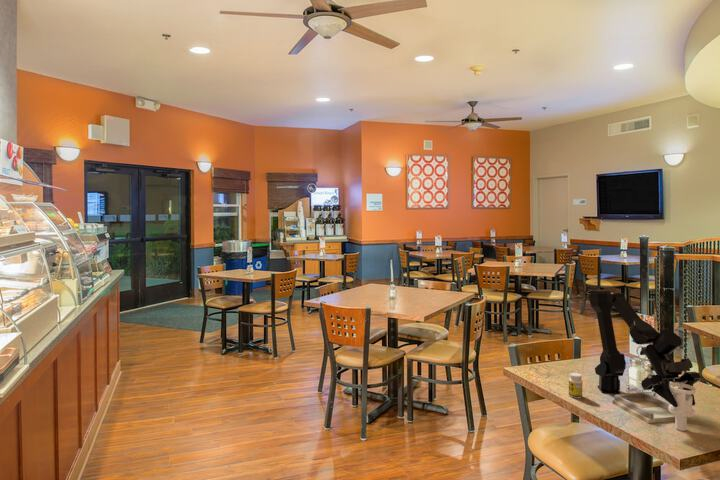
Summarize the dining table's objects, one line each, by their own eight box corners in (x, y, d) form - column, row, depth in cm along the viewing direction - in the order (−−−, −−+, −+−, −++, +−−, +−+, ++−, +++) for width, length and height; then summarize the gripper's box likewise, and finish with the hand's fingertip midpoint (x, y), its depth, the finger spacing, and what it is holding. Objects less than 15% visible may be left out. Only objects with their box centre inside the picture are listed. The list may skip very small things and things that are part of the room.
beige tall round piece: (666, 421, 163) (668, 378, 162) (692, 426, 160) (694, 381, 159) (668, 430, 157) (670, 385, 156) (695, 435, 154) (697, 388, 153)
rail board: (612, 403, 180) (612, 395, 179) (645, 399, 182) (645, 392, 182) (648, 423, 163) (648, 414, 163) (684, 419, 166) (684, 410, 165)
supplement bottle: (566, 393, 189) (566, 372, 188) (577, 393, 189) (578, 372, 189) (572, 398, 184) (573, 376, 183) (584, 398, 184) (585, 376, 184)
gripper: (649, 351, 159) (675, 398, 149) (698, 347, 162) (727, 393, 152) (630, 367, 167) (654, 412, 157) (677, 363, 171) (703, 407, 161)
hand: (685, 405), depth 157 cm, fingers closed on beige tall round piece, 6 cm apart
